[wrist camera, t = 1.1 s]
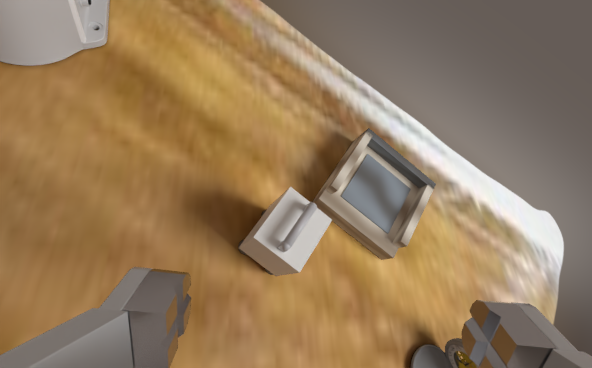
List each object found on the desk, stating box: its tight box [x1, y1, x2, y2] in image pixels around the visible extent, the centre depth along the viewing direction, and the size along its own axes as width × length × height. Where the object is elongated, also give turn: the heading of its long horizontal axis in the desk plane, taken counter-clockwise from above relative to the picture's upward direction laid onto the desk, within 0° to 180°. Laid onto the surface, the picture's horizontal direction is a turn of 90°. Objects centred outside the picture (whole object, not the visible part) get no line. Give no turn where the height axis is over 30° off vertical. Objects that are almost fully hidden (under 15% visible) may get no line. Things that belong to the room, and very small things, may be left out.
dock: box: [313, 128, 436, 260], centre depth 49 cm, size 14×14×5 cm
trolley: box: [238, 187, 332, 276], centre depth 38 cm, size 7×6×13 cm
